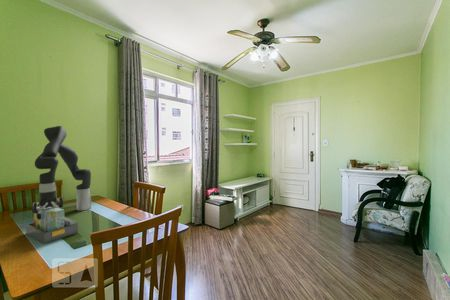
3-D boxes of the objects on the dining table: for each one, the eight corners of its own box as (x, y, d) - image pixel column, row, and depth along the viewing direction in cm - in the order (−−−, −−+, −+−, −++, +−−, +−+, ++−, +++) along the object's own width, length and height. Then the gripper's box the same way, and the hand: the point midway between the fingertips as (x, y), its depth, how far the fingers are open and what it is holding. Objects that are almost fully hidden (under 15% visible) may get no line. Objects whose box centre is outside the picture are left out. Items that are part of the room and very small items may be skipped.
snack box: (65, 233, 124) (65, 208, 124) (55, 237, 119) (54, 211, 119) (43, 228, 132) (43, 205, 131) (32, 232, 127) (32, 207, 126)
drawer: (58, 224, 140) (58, 213, 140) (78, 233, 127) (78, 220, 127) (26, 233, 126) (25, 221, 126) (44, 244, 113) (44, 230, 113)
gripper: (58, 187, 132) (59, 212, 133) (29, 192, 120) (30, 219, 121) (64, 188, 129) (65, 214, 129) (34, 193, 116) (35, 222, 117)
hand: (48, 217), depth 125 cm, fingers open, 8 cm apart
